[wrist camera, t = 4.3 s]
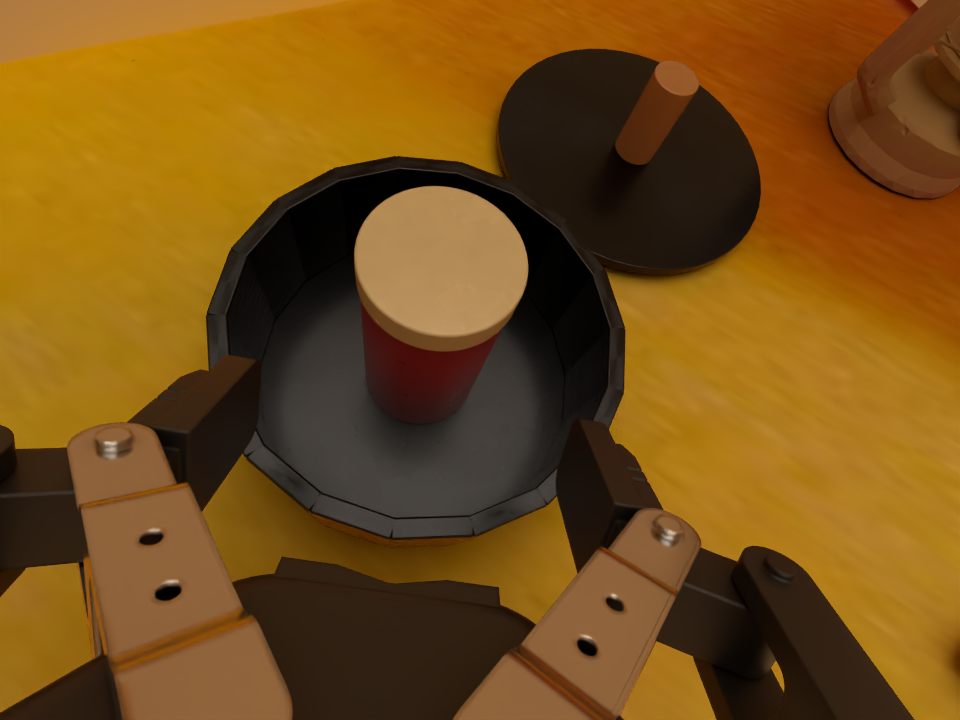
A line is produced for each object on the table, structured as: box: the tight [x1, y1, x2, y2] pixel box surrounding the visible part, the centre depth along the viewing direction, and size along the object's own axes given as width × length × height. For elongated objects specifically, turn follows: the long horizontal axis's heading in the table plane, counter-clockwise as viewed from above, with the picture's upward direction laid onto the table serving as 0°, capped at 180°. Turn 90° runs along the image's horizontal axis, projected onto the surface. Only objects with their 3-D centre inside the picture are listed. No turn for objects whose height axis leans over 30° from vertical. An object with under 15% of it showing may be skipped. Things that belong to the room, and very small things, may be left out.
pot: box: [206, 156, 625, 547], centre depth 23 cm, size 15×16×6 cm
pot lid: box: [497, 49, 761, 275], centre depth 30 cm, size 16×16×6 cm
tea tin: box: [354, 186, 528, 424], centre depth 20 cm, size 5×5×10 cm
